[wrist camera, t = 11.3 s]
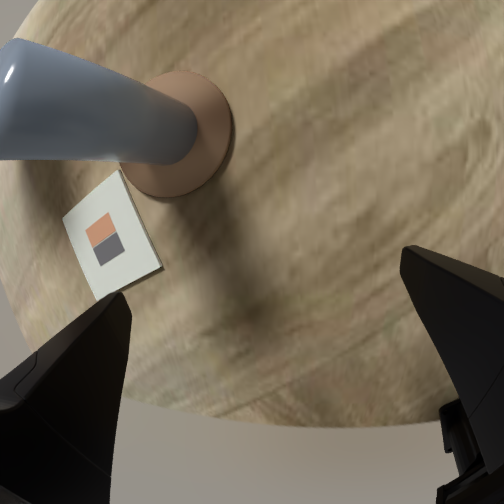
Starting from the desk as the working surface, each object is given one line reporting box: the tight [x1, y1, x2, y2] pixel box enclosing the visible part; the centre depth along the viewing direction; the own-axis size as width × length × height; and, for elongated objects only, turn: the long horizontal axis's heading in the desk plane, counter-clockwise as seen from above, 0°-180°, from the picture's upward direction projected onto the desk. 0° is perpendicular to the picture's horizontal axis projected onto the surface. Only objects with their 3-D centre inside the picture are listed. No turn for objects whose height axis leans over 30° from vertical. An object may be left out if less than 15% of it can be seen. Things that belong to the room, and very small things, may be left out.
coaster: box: [119, 71, 232, 197], centre depth 19 cm, size 9×9×1 cm
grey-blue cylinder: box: [0, 38, 197, 166], centre depth 13 cm, size 5×5×13 cm
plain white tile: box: [62, 170, 163, 300], centre depth 22 cm, size 8×8×1 cm
